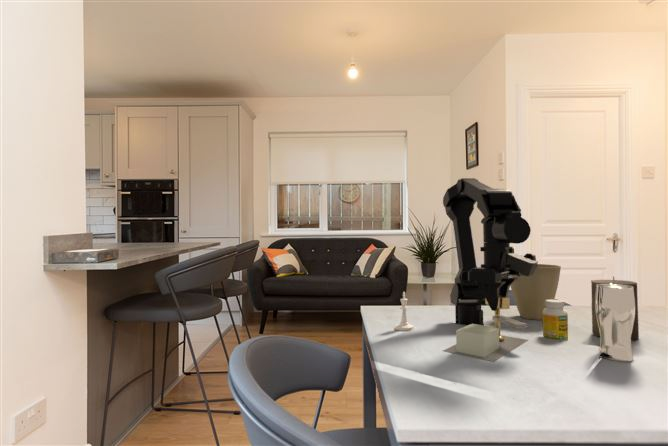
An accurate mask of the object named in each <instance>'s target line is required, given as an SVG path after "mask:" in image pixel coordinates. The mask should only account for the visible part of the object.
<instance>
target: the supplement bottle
mask: <svg viewBox="0 0 668 446" xmlns="http://www.w3.org/2000/svg"><path fill="white" fill-rule="evenodd" d="M545 305H546V306H547V308H545V309H544V310H543V320H542V336H543V339H549V340H556V341H560V342H561V341H563V342H568V341H569V329H568V328H569V326H568V325H569V324H568V321H569V320H568V318H569V316H568V311H567V310H566V309H564V307H565V301H564V300H561V299H554V300H546V301H545Z"/></svg>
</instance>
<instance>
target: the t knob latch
mask: <svg viewBox="0 0 668 446" xmlns="http://www.w3.org/2000/svg"><path fill="white" fill-rule="evenodd" d="M510 303H511V302H510V297H508V296H507V297H504V296H501V295H499V299H498V306H497V311H494V315H492V320H493V321H494V327H497V328H499V341H501V340H505V337H504V336H505V335H503V336H502V335H501V324H504V325H507V326H509V327H511V328H515V329H527V328H528V324H527V323H525V322H521V321H519V320H516V319H513V318H512V317H511V318H510V317H508V316H504V315H501V310H510V305H511V304H510ZM485 304H486V305H487V306H489V304H488V302H487V300H486V298H485Z"/></svg>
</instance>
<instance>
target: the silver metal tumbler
mask: <svg viewBox="0 0 668 446" xmlns="http://www.w3.org/2000/svg"><path fill="white" fill-rule="evenodd" d="M633 288H634V287H633V286H629V285H620V284H597V285H596V294H595V310H596V317H597V322H598V326H599V331H600V337H599V338H600V342H599V348H598V351H600V352H601V353H600V354H599V356H598V357H600V358H602V359H605V360H608V361H614V362H622V363H623V362H626V363H627V362H631V361H634V353H633V350H632V343H631V342H632V341H631V334H632V329H633V324H634V318H635V298H634V289H633Z"/></svg>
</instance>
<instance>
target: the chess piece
mask: <svg viewBox="0 0 668 446" xmlns="http://www.w3.org/2000/svg"><path fill="white" fill-rule="evenodd" d="M408 300H409V299H408V298H406V292H405V291H403V292H402V298H400V303H401V306H400V310H401V311H402V312H401V319H400V320H401V321H400V322H399V323H398V324H396V325H395V328H394V329H395V330H397V331H402V332H409V331H413V330H414V326H413V325H412V324H410V323H409V322H408V319H407V317H408V316H407V310H409V308H408V307H407V304H408Z"/></svg>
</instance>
